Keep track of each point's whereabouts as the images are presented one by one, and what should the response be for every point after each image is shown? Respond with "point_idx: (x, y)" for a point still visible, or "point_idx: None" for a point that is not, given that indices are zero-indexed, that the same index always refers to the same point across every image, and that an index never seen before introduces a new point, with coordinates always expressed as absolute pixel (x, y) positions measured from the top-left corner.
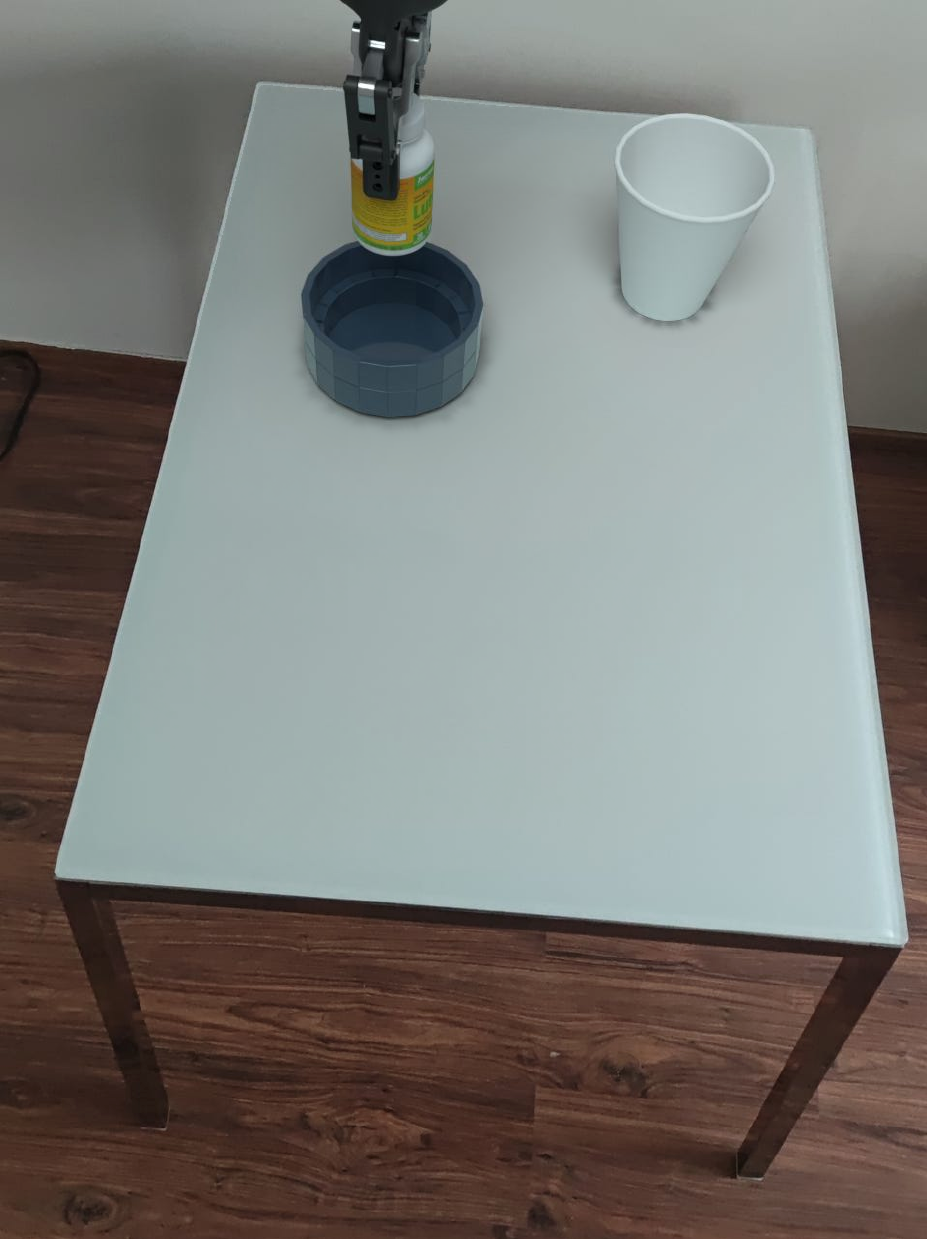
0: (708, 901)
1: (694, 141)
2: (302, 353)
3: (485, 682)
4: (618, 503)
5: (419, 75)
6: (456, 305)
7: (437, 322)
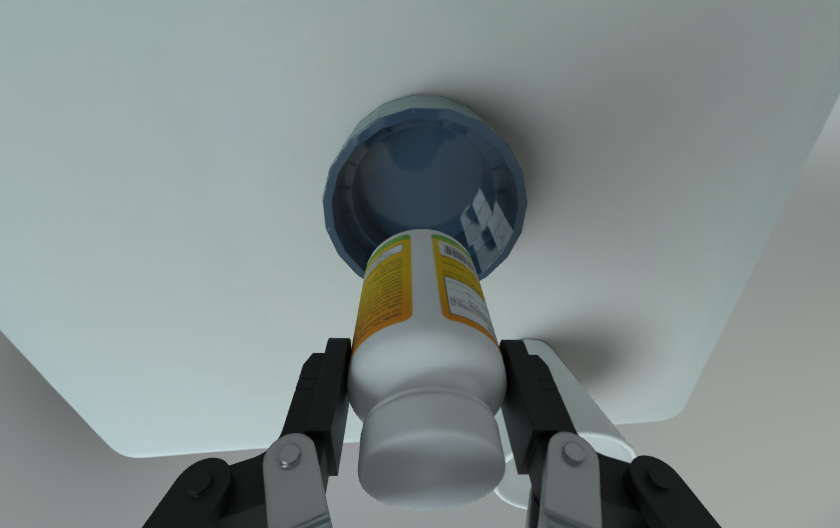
0: (81, 405)
1: (614, 453)
2: (408, 90)
3: (135, 299)
4: None
5: (526, 518)
6: None
7: (466, 221)
